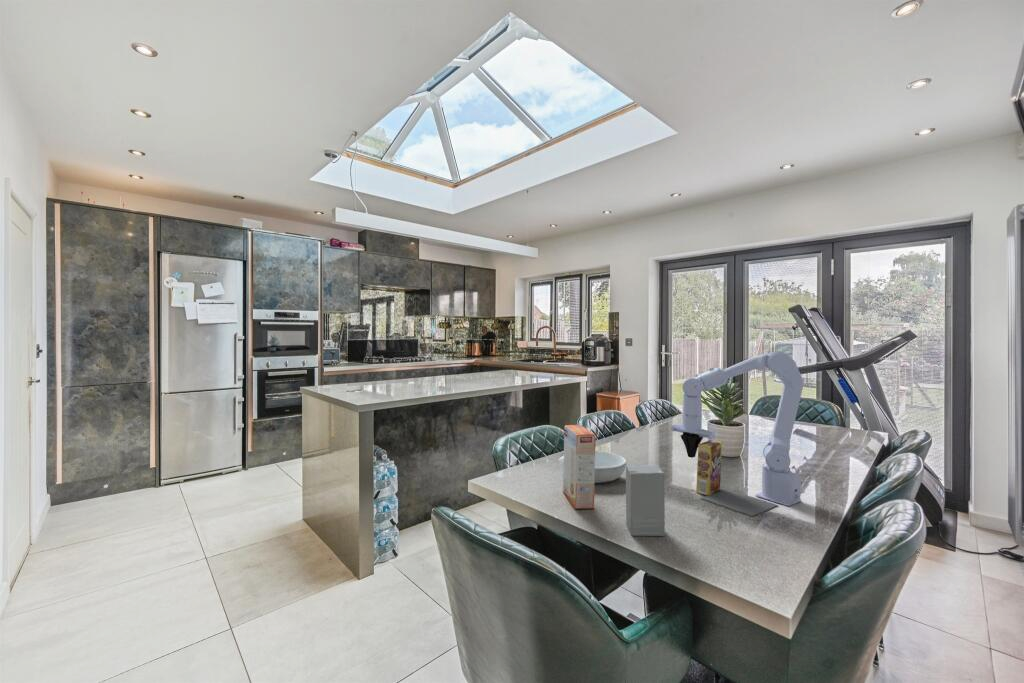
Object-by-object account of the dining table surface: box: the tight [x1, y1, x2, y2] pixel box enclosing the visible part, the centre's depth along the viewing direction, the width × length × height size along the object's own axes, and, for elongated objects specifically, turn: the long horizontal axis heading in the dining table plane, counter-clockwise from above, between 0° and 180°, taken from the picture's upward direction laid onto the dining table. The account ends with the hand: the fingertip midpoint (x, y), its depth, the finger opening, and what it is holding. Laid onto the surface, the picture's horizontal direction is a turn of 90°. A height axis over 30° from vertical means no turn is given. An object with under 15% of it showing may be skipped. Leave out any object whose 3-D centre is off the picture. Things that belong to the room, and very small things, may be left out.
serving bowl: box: [562, 450, 627, 484], centre depth 146 cm, size 21×21×7 cm
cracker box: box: [562, 424, 596, 510], centre depth 126 cm, size 14×6×21 cm, turn 7°
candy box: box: [696, 439, 723, 496], centre depth 135 cm, size 9×4×15 cm, turn 134°
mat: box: [700, 488, 779, 517], centre depth 126 cm, size 15×14×1 cm
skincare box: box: [625, 464, 666, 537], centre depth 106 cm, size 8×7×16 cm
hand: (691, 456), depth 140 cm, fingers closed
